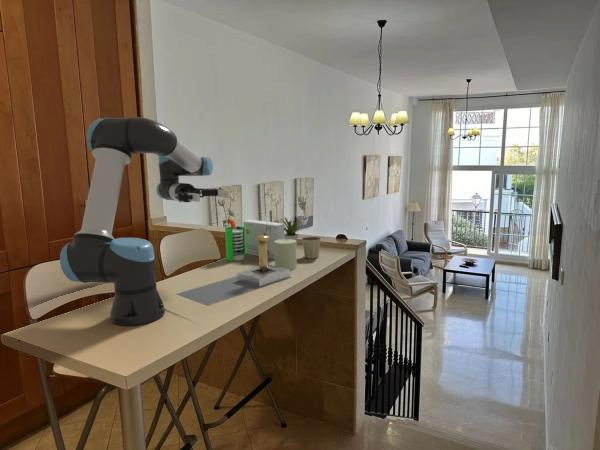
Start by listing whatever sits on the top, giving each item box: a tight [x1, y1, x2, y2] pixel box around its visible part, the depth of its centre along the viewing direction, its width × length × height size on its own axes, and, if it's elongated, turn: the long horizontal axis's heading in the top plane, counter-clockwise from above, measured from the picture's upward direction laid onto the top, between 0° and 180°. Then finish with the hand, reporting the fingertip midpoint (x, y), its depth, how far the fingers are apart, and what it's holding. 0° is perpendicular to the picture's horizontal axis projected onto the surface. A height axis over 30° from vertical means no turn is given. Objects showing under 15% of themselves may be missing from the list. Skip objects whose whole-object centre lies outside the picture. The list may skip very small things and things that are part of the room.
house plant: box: [279, 215, 303, 247], centre depth 219 cm, size 14×14×16 cm
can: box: [274, 238, 298, 271], centre depth 180 cm, size 9×9×12 cm
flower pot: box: [300, 236, 322, 259], centre depth 198 cm, size 9×9×9 cm
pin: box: [255, 235, 270, 273], centre depth 164 cm, size 5×5×16 cm
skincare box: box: [243, 219, 285, 260], centre depth 202 cm, size 21×6×16 cm, turn 53°
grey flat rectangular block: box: [236, 263, 291, 287], centre depth 165 cm, size 16×12×3 cm
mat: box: [176, 275, 293, 306], centre depth 158 cm, size 39×18×1 cm, turn 138°
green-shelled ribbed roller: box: [224, 218, 246, 262], centre depth 198 cm, size 9×8×18 cm
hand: (214, 195), depth 163 cm, fingers open, 13 cm apart
